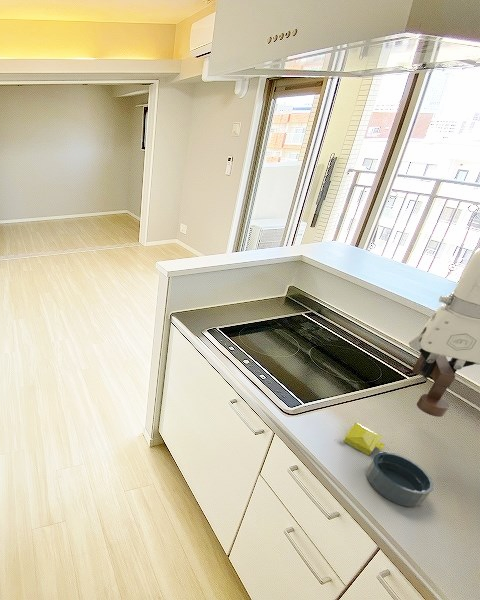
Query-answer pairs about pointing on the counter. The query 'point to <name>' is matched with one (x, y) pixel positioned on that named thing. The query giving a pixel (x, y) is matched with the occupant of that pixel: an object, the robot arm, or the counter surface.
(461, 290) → the robot arm
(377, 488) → the bowl
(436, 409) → the brown drawer pull
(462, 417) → the counter surface
